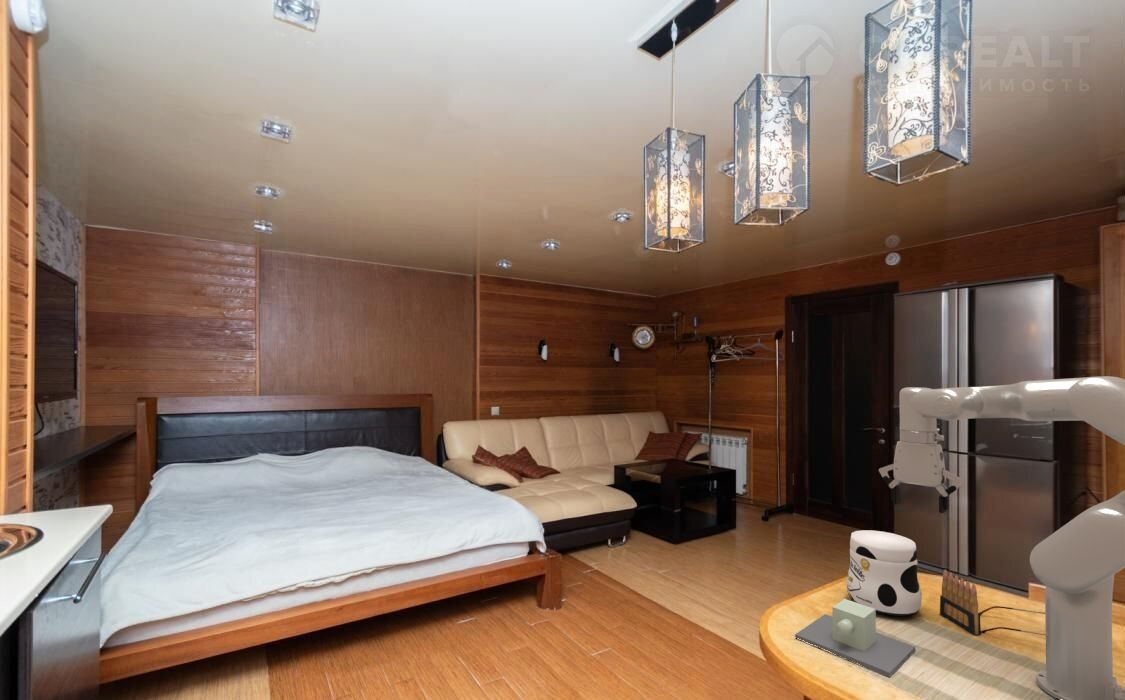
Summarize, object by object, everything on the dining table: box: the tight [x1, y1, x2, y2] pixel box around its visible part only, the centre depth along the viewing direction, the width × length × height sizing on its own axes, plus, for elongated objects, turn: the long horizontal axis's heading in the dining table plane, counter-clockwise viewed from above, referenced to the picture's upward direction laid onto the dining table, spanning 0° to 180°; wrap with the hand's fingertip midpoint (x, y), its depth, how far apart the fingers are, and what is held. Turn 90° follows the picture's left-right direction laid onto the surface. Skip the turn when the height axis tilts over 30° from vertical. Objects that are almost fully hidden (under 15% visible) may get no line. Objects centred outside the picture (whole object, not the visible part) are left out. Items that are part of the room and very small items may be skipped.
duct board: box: [794, 613, 916, 678], centre depth 122 cm, size 20×16×6 cm
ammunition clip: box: [939, 569, 982, 636], centre depth 132 cm, size 11×2×12 cm, turn 3°
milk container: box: [845, 529, 923, 617], centre depth 142 cm, size 17×17×18 cm
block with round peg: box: [832, 598, 877, 651], centre depth 121 cm, size 10×7×7 cm
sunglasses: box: [978, 605, 1046, 636], centre depth 128 cm, size 14×16×5 cm
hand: (919, 507), depth 129 cm, fingers open, 9 cm apart
